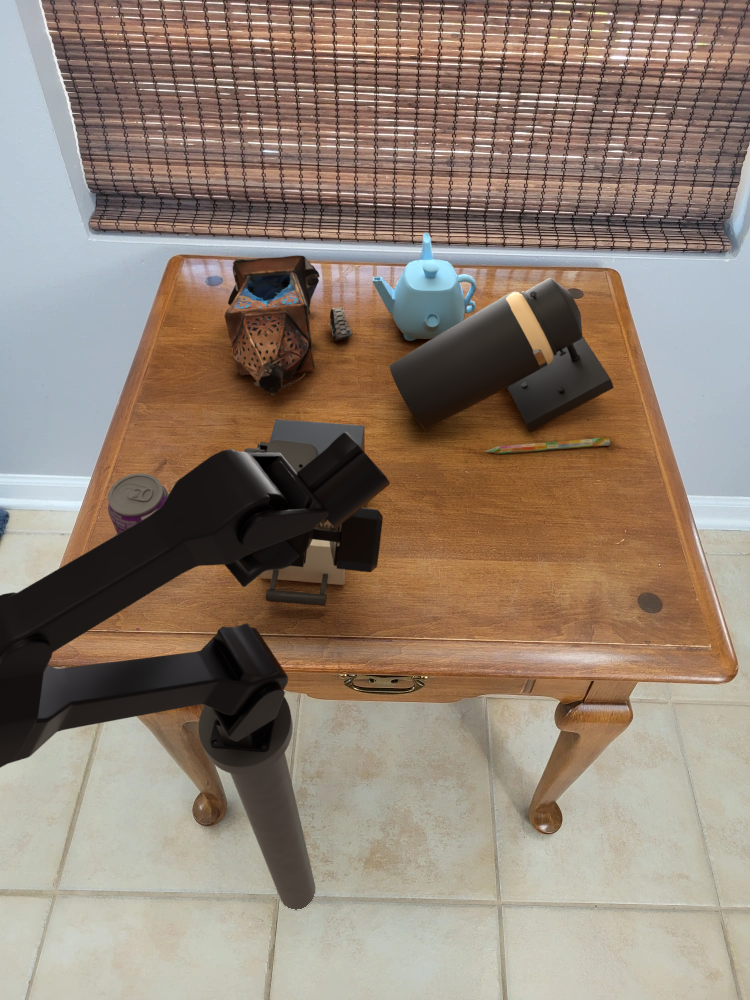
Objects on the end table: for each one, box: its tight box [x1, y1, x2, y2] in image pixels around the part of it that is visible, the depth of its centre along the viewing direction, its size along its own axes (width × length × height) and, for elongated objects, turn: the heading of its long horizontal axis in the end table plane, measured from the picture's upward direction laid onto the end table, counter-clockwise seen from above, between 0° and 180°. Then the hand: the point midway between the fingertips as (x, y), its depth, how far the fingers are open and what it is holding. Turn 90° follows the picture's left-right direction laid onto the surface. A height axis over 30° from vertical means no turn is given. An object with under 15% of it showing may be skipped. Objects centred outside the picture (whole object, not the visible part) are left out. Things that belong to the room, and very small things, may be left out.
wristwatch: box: [329, 306, 353, 342], centre depth 123 cm, size 3×5×5 cm
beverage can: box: [107, 472, 170, 535], centre depth 93 cm, size 7×7×12 cm
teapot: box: [372, 232, 477, 342], centre depth 122 cm, size 15×14×11 cm
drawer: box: [259, 524, 346, 607], centre depth 93 cm, size 17×10×8 cm, turn 175°
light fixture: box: [388, 277, 615, 433], centre depth 108 cm, size 13×18×26 cm
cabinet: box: [269, 418, 366, 455], centre depth 98 cm, size 14×12×10 cm
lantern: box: [223, 255, 320, 396], centre depth 116 cm, size 16×16×25 cm
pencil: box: [485, 436, 611, 455], centre depth 108 cm, size 1×1×18 cm
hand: (290, 527), depth 83 cm, fingers open, 9 cm apart
